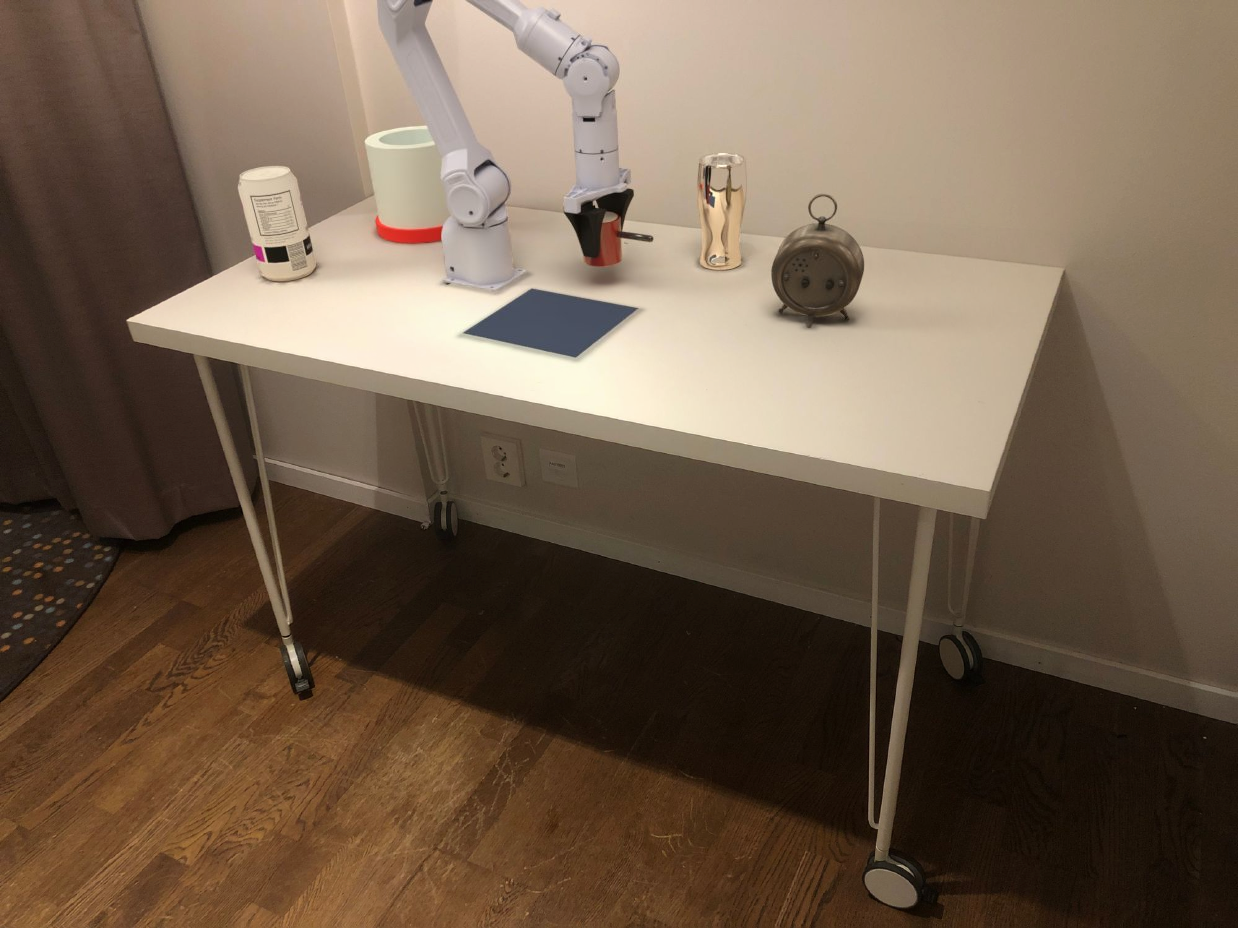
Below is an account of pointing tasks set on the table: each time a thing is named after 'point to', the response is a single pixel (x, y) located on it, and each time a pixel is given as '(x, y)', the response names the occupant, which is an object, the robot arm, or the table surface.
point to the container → (407, 185)
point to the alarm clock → (818, 269)
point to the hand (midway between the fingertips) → (601, 249)
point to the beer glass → (721, 208)
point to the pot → (613, 241)
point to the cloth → (552, 322)
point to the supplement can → (276, 223)
